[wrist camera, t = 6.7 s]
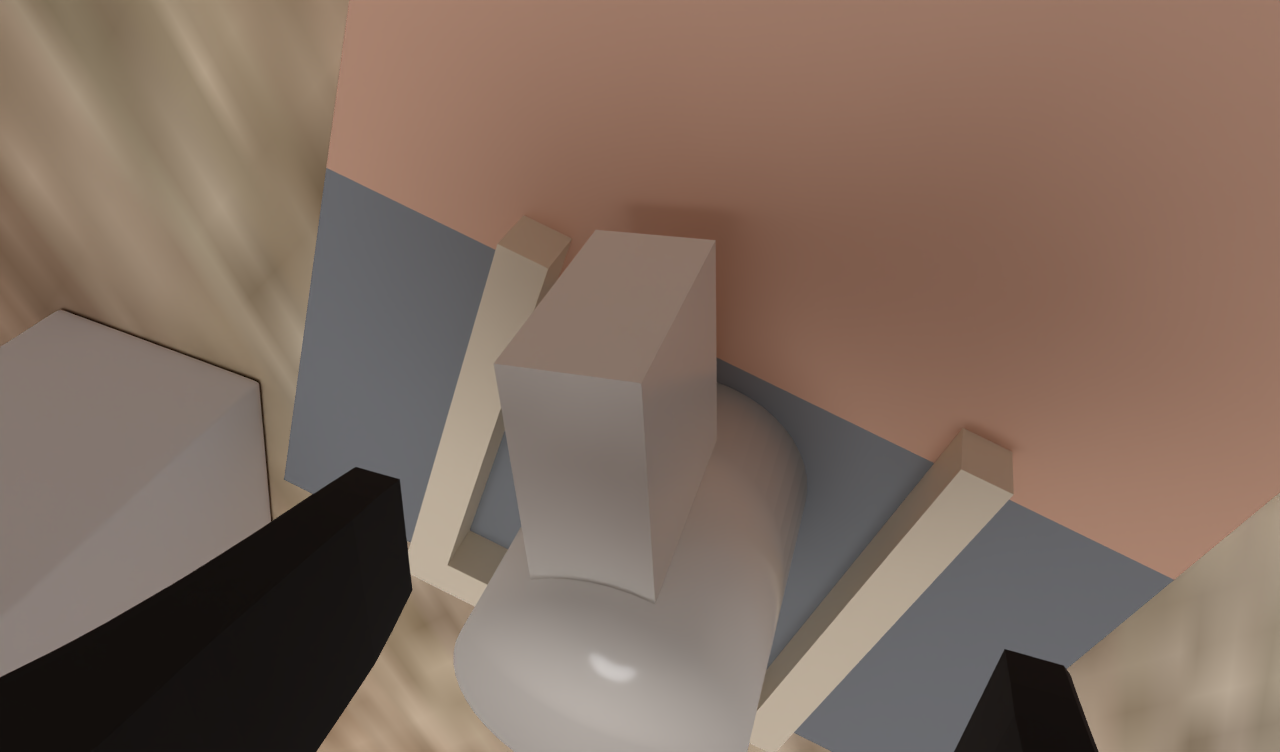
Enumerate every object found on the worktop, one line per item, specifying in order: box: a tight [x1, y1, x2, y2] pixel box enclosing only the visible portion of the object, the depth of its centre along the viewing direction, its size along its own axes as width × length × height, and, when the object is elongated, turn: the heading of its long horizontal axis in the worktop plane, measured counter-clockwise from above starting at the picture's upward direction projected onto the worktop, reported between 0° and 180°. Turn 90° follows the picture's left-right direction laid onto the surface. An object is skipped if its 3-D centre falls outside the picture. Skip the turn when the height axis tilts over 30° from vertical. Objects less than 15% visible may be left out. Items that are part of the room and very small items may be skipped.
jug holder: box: [284, 0, 1280, 752], centre depth 18 cm, size 18×19×2 cm
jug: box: [454, 230, 807, 752], centre depth 17 cm, size 10×5×6 cm, turn 3°
